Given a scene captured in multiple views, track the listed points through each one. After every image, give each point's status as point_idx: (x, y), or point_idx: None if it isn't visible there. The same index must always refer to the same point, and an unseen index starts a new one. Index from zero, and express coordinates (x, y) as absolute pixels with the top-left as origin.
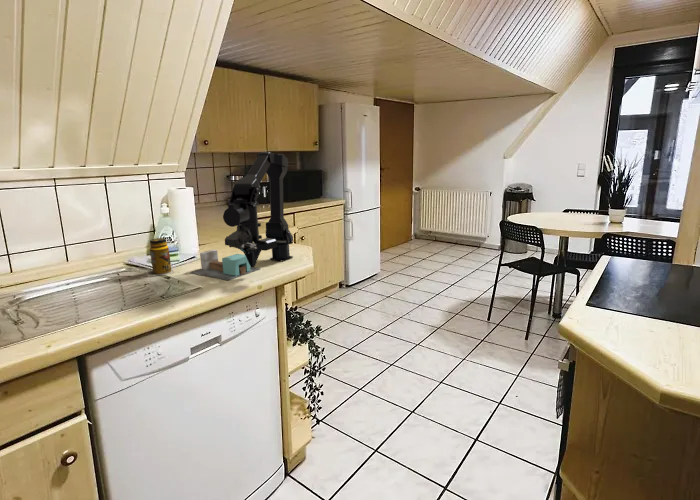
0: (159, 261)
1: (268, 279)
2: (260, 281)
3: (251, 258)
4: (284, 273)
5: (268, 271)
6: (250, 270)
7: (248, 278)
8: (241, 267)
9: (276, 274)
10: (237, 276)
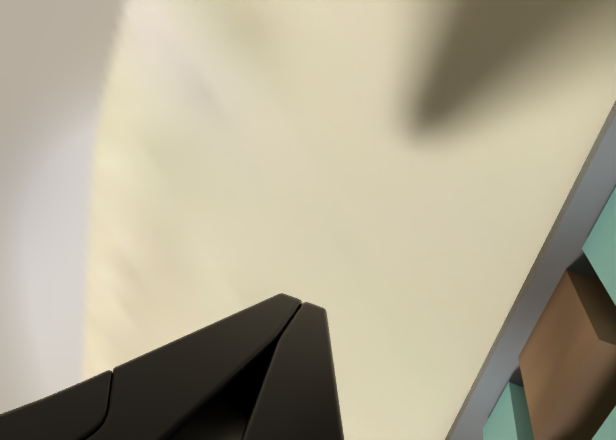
0: None
1: (102, 161)
2: (135, 62)
3: (137, 387)
4: (91, 366)
5: None
6: (484, 430)
7: (366, 151)
8: (583, 367)
9: (137, 335)
10: (587, 173)
